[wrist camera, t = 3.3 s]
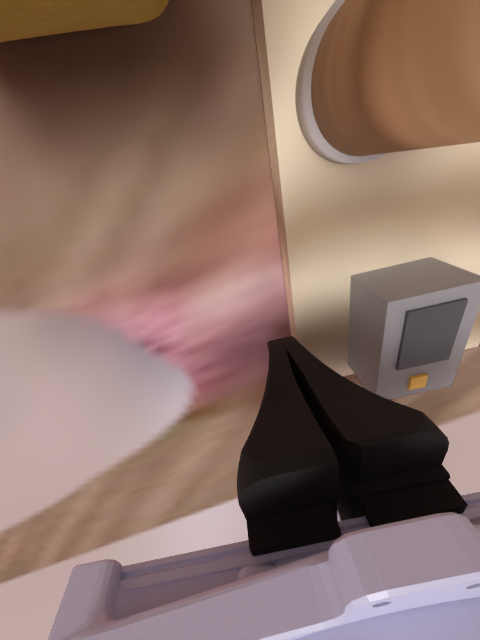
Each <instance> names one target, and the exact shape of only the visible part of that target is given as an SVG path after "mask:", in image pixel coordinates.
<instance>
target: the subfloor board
mask: <svg viewBox="0 0 480 640" xmlns="http://www.w3.org/2000/svg"><path fill="white" fill-rule="evenodd" d="M334 2H335V0H251V4H252V12H253V20H254V29H255V37H256V46H257V54H258V63H259V71H260V79H261V88H262V96H263V105H264V113H265V122H266V130H267V138H268V147H269V155H270V164H271V172H272V181H273V189H274V197H275V206H276V214H277V223H278V231H279V240H280V248H281V256H282V265H283V273H284V282H285V290H286V299H287V307H288V315H289V324H290V332H291V336H293V337H294V338H295V339H296V340H297V341H298V342H299V343H300V344H301V345H302V346H304V347H305V348H306V349H307V350H308V351H309V352H310V353H311V354H313V355H314V356H315V357H316V358H318V359H319V360H320V361H321V362H323V363H324V364H325V365H327V366H328V367H329V368H331V369H332V370H334V371H335V372H337V373H338V374H340V375H341V376H347V375H351V374H354V373H353V371H352V370H351V368H350V367H349V365H348V337H349V309H350V282H351V275H355V274H359V273H363V272H367V271H372V270H376V269H380V268H385V267H389V266H393V265H398V264H402V263H406V262H411V261H415V260H419V259H424V258H428V257H432V258H435V259H438V260H440V261H443V262H446V263H448V264H451V265H454V266H456V267H459V268H462V269H464V270H467V271H469V272H472V273H475V274H477V275H480V142H476V143H467V144H459V145H451V146H442V147H434V148H426V149H418V150H409V151H401V152H393V153H388V154H386V155H384V156H382V157H380V158H378V159H375V160H372V161H369V162H363V163H353V164H338V163H333V162H330V161H327V160H325V159H323V158H322V157H320V156H319V155H318V154H316V153H315V152H314V151H313V150H312V149H311V147H310V146H309V145H308V143H307V142H306V140H305V138H304V136H303V134H302V132H301V129H300V126H299V123H298V118H297V113H296V105H295V91H296V80H297V74H298V69H299V66H300V62H301V58H302V56H303V53H304V50H305V48H306V45H307V43H308V41H309V39H310V37H311V35H312V34H313V32H314V30H315V29H316V27H317V25H318V24H319V23H320V21H321V20H322V18H323V17H324V15H325V14H326V13H327V11H328V10H329V8H330V7H331V6H332V4H333V3H334ZM477 346H480V308H479V311H478V314H477V317H476V319H475V322H474V325H473V328H472V330H471V333H470V336H469V339H468V341H467V344H466V347H465V349H468V348H473V347H477Z"/></svg>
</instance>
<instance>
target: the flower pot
mask: <svg viewBox="0 0 480 640" xmlns="http://www.w3.org/2000/svg"><path fill="white" fill-rule="evenodd" d="M168 2H169V0H0V42H5V41H12V40H19V39H26V38H33V37H40V36H47V35H54V34H61V33H68V32H75V31H82V30H90V29H97V28H105V27H113V26H121V25H132V24H140V23H144V22H147V21H150V20H153V19H155V18H156V17H158V16H159V15H160V14H162V12H163V11H164V9H165V8H166V6H167V4H168Z"/></svg>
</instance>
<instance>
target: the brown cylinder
mask: <svg viewBox="0 0 480 640" xmlns="http://www.w3.org/2000/svg"><path fill="white" fill-rule="evenodd" d="M295 105H296V113H297V118H298V123H299V126H300V129H301V132H302V134H303V136H304V138H305V140H306V142H307V143H308V145H309V146H310V147H311V149H312V150H313V151H314V152H315V153H316V154H318V155H319V156H320V157H322V158H323V159H325V160H327V161H330V162H333V163H338V164H353V163H363V162H369V161H372V160H375V159H378V158H380V157H382V156H384V155H386V154H388V153H393V152H401V151H409V150H418V149H426V148H434V147H442V146H451V145H459V144H467V143H476V142H480V0H335V2H334V3H333V4H332V6H331V7H330V8H329V10H328V11H327V13H326V14H325V15H324V17H323V18H322V20H321V21H320V23H319V24H318V25H317V27H316V29H315V30H314V32H313V34H312V35H311V37H310V39H309V41H308V43H307V45H306V48H305V50H304V53H303V56H302V58H301V62H300V66H299V69H298V74H297V80H296V91H295Z"/></svg>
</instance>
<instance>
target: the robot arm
mask: <svg viewBox="0 0 480 640" xmlns="http://www.w3.org/2000/svg"><path fill="white" fill-rule="evenodd" d="M267 345H268V350H269V369H268V376H267V383H266V388H265V392H264V396H263V400H262V403H261V406H260V410H259V413H258V415H257V418H256V420H255V423H254V425H253V428H252V430H251V433H250V435H249V437H248V439H247V441H246V443H245V445H244V447H243V449H242V451H241V456H240V461H239V467H238V475H237V492H238V501H239V505H240V507H241V509H242V512H243V514H244V516H245V518H246V520H247V529H248V539H249V540H247V541H242V542H238V543H233V544H228V545H223V546H219V547H214V548H209V549H204V550H199V551H194V552H190V553H185V554H180V555H175V556H170V557H165V558H161V559H156V560H151V561H146V562H142V563H137V564H132V565H127V566H122V565H121V564H120V563H119V562H118V561H116V560H100V561H96V562H91V563H86V564H81V565H77V566H75V567H74V568H73V570H72V573H71V576H70V578H69V581H68V584H67V587H66V590H65V593H64V595H63V598H62V601H61V604H60V607H59V610H58V612H57V615H56V618H55V621H54V624H53V626H52V629H51V632H50V635H49V638H48V640H480V492H477V493H472V494H467V495H463V496H461V495H460V494H459V493H458V491H457V490H456V489H455V487H454V486H453V485H452V484H451V482H450V481H449V480H448V479H449V478H450V475H449V473H448V472H447V470H446V469H445V468H444V467H443V465H442V462H443V460H444V458H445V455H446V453H447V451H448V445H449V441H448V438H447V437H446V436H445V435H444V433H443V432H442V431H441V430H440V429H439V428H438V427H437V426H436V425H435V424H434V423H433V422H432V421H431V420H430V419H429V418H428V417H427V416H426V415H425V414H424V413H423V412H421V411H418V410H415V409H412V408H410V407H407V406H404V405H401V404H399V403H396V402H393V401H391V400H388V399H386V398H384V397H381V396H379V395H377V394H375V393H373V392H371V391H369V390H367V389H365V388H363V387H360V386H358V385H357V384H355V383H353V382H351V381H350V380H348V379H346V378H345V377H343V376H341V375H340V374H338V373H337V372H335V371H334V370H332V369H331V368H329V367H328V366H327V365H325V364H324V363H323V362H321V361H320V360H319V359H318V358H316V357H315V356H314V355H313V354H311V353H310V352H309V351H308V350H307V349H306V348H305V347H304V346H302V345H301V344H300V343H299V342H298V341H297V340H296V339H295V338H294V337H293V336H289V337H285V338H281V339H276V340H272V341H269V342H268V343H267Z"/></svg>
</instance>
